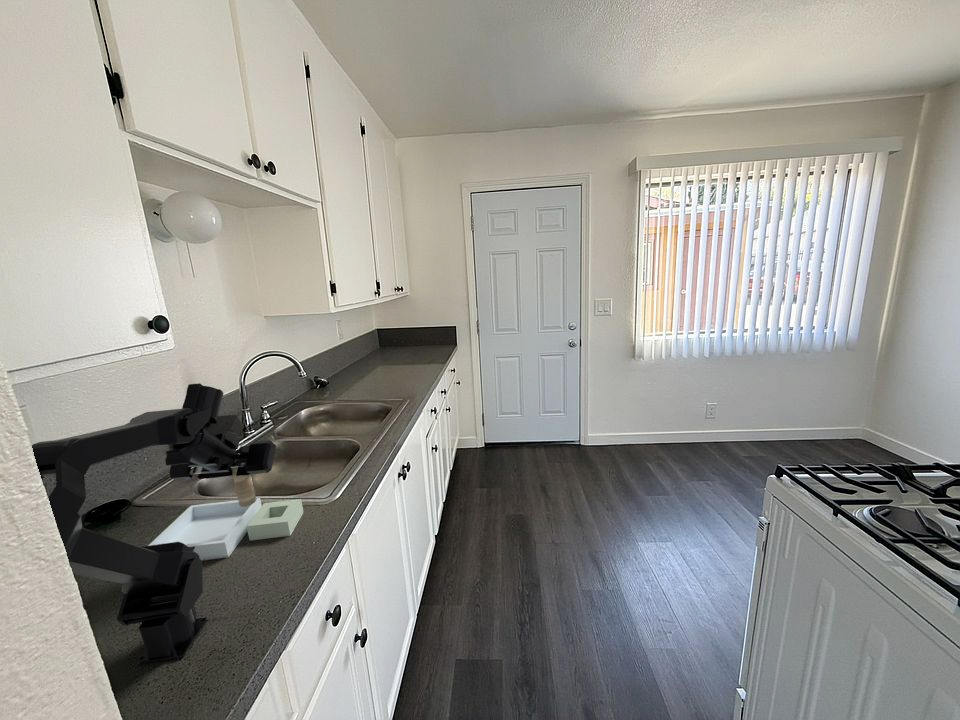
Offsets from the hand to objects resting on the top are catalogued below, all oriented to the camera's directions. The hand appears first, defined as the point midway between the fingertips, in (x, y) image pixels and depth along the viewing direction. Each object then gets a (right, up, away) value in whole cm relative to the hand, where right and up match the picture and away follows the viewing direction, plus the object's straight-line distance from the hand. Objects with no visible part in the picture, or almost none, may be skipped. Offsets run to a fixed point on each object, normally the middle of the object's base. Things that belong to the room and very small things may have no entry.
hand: (245, 471), depth 84 cm
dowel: (+1, -7, 0) cm, 7 cm away
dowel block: (+6, -13, +3) cm, 14 cm away
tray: (-8, -14, 0) cm, 16 cm away
